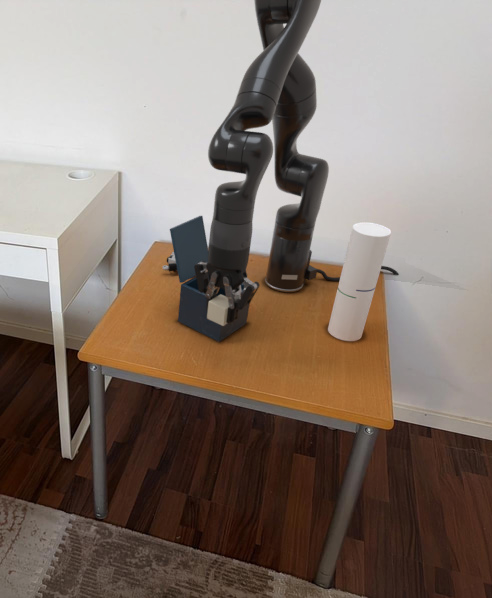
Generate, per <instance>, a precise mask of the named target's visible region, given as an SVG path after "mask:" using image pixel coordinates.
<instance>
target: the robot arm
mask: <svg viewBox="0 0 492 598" xmlns="http://www.w3.org/2000/svg"><path fill="white" fill-rule="evenodd" d="M253 3H254V12H255V17H256V22H257V27H258V28H257V29H258V32H259V36H260V41H261V45H262V46H261V47H262V51H261V52H260V53H259V54H258V55H257V56H256V58H255V59H253V61H252V62H251V63H250V65H249V66H248V67H247V69H246V71H245V73H244V75H243V77H242V80H241V82H240V86H239V88H238V92H237V95H236V97H235V100H234V103H233V106H232V107H231V109H230V111H229V112H228V114H227V115H226V116H225V118H224V120H223V121H222V123H221V124H220V125H219V127H218V128H217V130H216V131H215V133H214V134H213V135H212V138H211V140H210V142H209V145H208V149H207V158H208V162H209V164H210V166H211V167H212V168H213V169H215V170H217V171H221V172H229V173H236V174H243V175H245V178H244V180H239V181H230V182H224V183H220V184H219V185H218V186H217V188H216V189H215V193H214V203H213V212H212V220H211V224H210V228H209V229H210V230H209V239H208V262H207V263H206V262H205V261H202V262H199V263H197V264H196V265H195V266H194V268H195V274H196V276H195V277H196V279H197V284H198V289H199V292H201V293H204V294H206V297H207V302H206V310H207V313H208V303H209V301H210V300H212V299H214V298H215V297H217V296H216V294H217V293H218V291H219V289H220V288H222V289H224V290H225V293H226V297H227V298H228V303H229V308H228V313H227V321H226V322H227V323H228V324H231V323H233V322H234V321H236V320H237V319H238V313H239V310H242V309H243V308H245V307H246V306H248V305H249V306H250V304H251V302H252V300H253V298H254V297H255V295H256V293H257V292H258V290H259V288H260V286H261V285H260V283H259V282H258V281H252V280H250V278H249V277H248V273H247V267H248V264H249V259H250V251H251V246H252V245H251V243H252V237H253V220H254V212H255V203H256V199H257V194H258V192H259V191H258V190H259V188H260V185H261V183H262V180H263V178H264V175H265V173H266V171H267V170H268V167H269V165H270V163H271V160H272V158H273V157H274V164H273V165H274V181H275V185H276V188H277V189H278V190H279V191H281V192H284V193H285V194H290V195H294V196H296V197H300V201H299V203H290V204H289V203H288V204H285V205H281V206H280V207H279V208H278V209H277V210H276V214H275V220H274V225H273V231H272V239H271V245H270V251H269V257H268V263H267V268H266V274H265V277H264V283H265V285H266V286H267V287H268V288H270V289H271V290H274V291H276V292H281V293H296V292H300V291H301V290H302V289H303V287H304V285H306V283H307V281H311V280H314V279H316V278H317V274H320V275H321V276H322V277H323V279H325V280H327V281H330V282H339V281H340V277H341V276H339V277H332V276H329V275H327V273H326V272H325V271H324V270H322V269H319V268H317V267H314V266H312V265H310V264H311V259H312V254H313V251H312V249H311V246H312V241H313V237H314V232H315V227H316V223H317V218H318V215H319V213H320V209H321V205H322V201H323V197H324V193H325V190H326V186H327V182H328V178H329V173H330V168H329V167H330V166H329V163H328V161H327V160H325V159H323V158H321V157H320V158H319V157H315V156H311V155H307V154H302V153H300V152H299V151H298V148H297V141H298V138H299V137H300V135H301V134H302V133H303V131H304V130H305V129H306V128H307V126H308V125H309V123H310V122H311V120H313V118H314V115H315V113H316V111H317V108H318V107H317V105H318V103H317V101H318V100H317V99H318V98H317V81H316V77H315V75H314V72H313V70H312V69H311V67H310V66H309V65H308V63H307V62H306V60H305V59H304V58H303V57H302V56H301V55H300V53H299V52H300V50H301V48H302V46H303V44H304V42H305V40H306V38H307V36H308V34H309V32H310V30H311V28H312V25H313V24H314V21H315V19H316V18H317V16H318V15H317V14H318V12H319V9H320V6H321V3H322V0H254V1H253ZM284 25H285V26H284ZM271 122H272V132H273V141H272V139H271V137H270V136H269V134H267V133H264V132H258V131H250V130H252V129H259V128H263V127H267V126H268V125H269V124H270V123H271ZM273 155H274V156H273ZM381 270H383V271H388V272H389V273H392V274H393V275H395V276H399V274H400V273H399V272H398V271H397V270H396V269H394V268H393V267H390V266H387V265H386V266H385V265H382V266H381ZM208 273H209V274H208ZM209 275H210V277H211V279H209ZM203 281H204V283H203ZM242 283H243V284H244V289H243V291H244V294H243V295H242V297H241V296H240V294H241V284H242Z"/></svg>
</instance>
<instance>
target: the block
mask: <svg viewBox="0 0 492 598" xmlns="http://www.w3.org/2000/svg"><path fill="white" fill-rule="evenodd" d="M228 308H229V303H228V298H227V297H226V296H224V295H221V294H220V295H218V296H217V297H215V298H214V299H212V300H210V301H209V303H208V313H207V319H209V320H211V321H214V322H216V323H218V324H220V325H222V326H224V325H226V324H227V322H226V321H227V313H228Z"/></svg>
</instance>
